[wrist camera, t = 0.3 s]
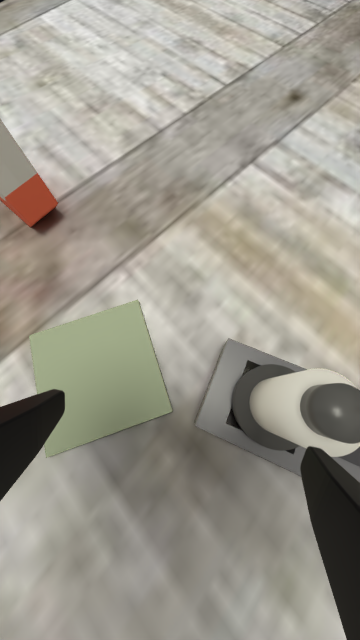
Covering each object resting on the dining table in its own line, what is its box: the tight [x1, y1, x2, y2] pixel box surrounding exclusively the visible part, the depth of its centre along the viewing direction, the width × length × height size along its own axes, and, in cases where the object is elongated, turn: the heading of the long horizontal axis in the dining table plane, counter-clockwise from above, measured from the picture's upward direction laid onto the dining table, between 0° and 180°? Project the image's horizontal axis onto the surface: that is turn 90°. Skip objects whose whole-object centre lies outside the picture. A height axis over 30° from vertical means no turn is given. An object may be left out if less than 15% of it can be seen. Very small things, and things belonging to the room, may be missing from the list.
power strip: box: [195, 338, 360, 482], centre depth 20 cm, size 21×8×3 cm, turn 66°
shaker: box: [232, 364, 360, 457], centre depth 16 cm, size 6×6×13 cm
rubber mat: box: [29, 300, 173, 458], centre depth 24 cm, size 12×12×1 cm
